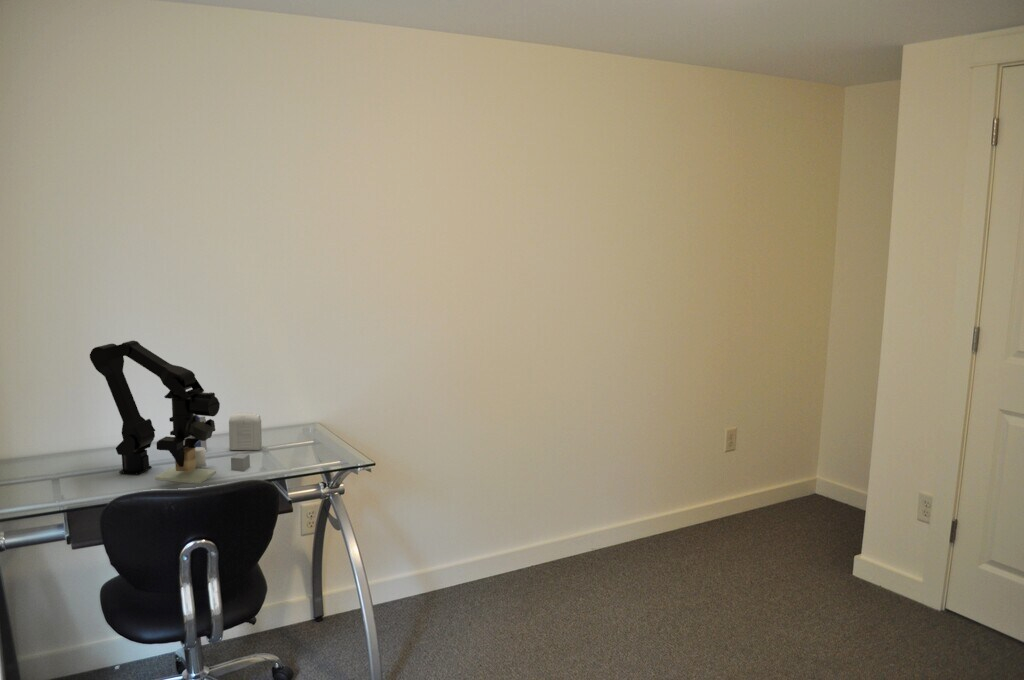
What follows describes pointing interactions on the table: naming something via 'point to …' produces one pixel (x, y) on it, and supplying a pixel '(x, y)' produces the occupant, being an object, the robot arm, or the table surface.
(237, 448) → the photo printer
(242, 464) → the grey cube
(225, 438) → the table surface
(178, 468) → the oak block
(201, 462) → the white cylinder
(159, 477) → the sage board
